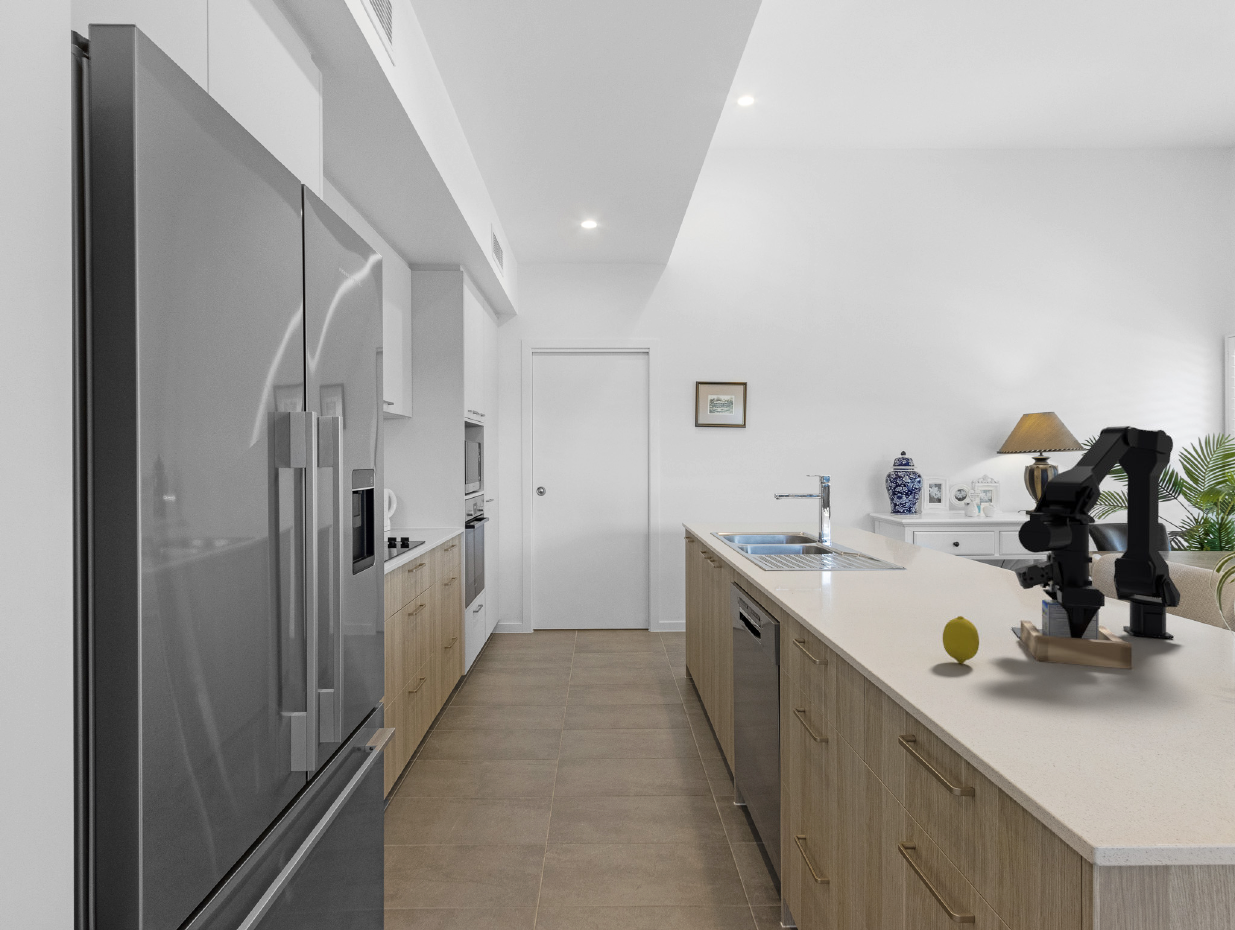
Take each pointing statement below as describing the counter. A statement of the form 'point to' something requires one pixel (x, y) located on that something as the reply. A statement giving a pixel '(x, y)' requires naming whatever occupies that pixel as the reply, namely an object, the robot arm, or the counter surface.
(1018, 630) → the mat
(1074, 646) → the dispenser rack
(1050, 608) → the medicine box
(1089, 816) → the counter surface
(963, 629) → the lemon
